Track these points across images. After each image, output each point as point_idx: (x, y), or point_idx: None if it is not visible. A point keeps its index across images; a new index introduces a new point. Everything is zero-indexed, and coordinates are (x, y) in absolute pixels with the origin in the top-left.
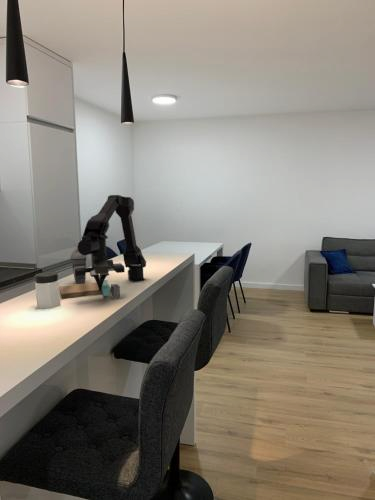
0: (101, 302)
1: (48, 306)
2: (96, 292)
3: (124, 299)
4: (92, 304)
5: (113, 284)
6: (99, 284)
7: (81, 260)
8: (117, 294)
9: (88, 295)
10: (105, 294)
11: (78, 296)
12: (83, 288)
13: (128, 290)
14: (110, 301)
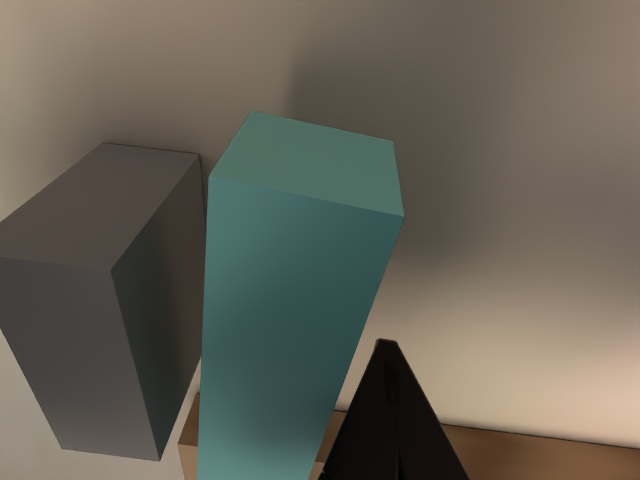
0: (440, 76)
1: None
2: None
3: (29, 31)
4: (636, 36)
5: (115, 447)
6: (417, 461)
7: None
8: (112, 179)
9: (444, 427)
10: (349, 143)
11: (549, 443)
12: None
13: (21, 382)
14: (282, 46)
